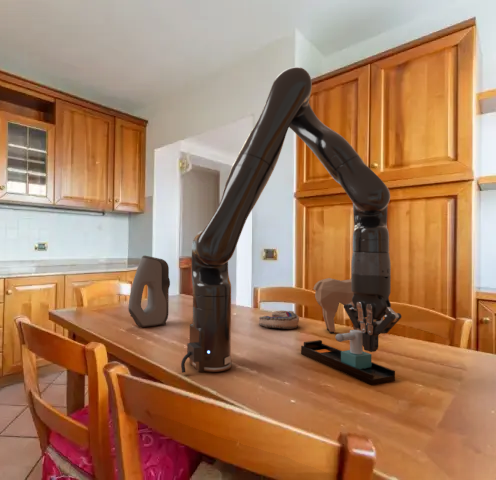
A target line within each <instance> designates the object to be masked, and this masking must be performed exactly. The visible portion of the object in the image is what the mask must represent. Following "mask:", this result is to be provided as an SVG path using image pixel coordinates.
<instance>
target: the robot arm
mask: <svg viewBox="0 0 496 480" xmlns="http://www.w3.org/2000/svg"><path fill="white" fill-rule="evenodd" d="M312 90H313V82H312V77H311V75H310V73H309V72H308V71H307V70H306V69H305V68H303V67H300V66H293V67H292V66H291V67H289V68H287V69H284V70H283V71H282V72H280V73H279V74H278V75H277V76H276V78H275V79H274V81H273V82H272V85H271V88H270V91H269V93H268V96H267V99H266V101H265V103H264V106H263V109H262V111H261V113H260V115H259V117H258V120H256V123H255V125H254V126H253V128H252V129H251V131H250V132H249V134H248V137H247V138H246V140H245V142H244V143H243V145H242V148H241V149H240V151H239V153H238V155H237V157H236V158H235V161H234V163H233V164H232V166H231V169H230V171H229V173H228V176H227V178H226V182H225V185H224V188H223V191H222V195H221V199H220V202H219V204H218V206H217V207H216V209H215V211H214V213H213V215H212V216H211V218H210V220H209V222H208V223H207V225H206V226H205V227H204V229H202V230H199V232H197V233H196V235H195V236H194V238H193V239H192V243H191V283H192V323H190V324H189V342H187V343H186V346H187V349H186V350H187V351H186V354H185V355H184V356H183V357H182V360H181V362H180V367H181V373H186V366H185V365H186V361H187V360H188V359H189V360H188V361H189V365H191V366H192V367H193V368H194V369H195V370H197V372H199V373H200V372H206V373H207V372H208V373H220V372H225V371H228V370H230V369H231V368H232V283H231V280H230V275H229V261H230V260H231V259H232V257H233V255H234V254H235V251H236V248H237V245H238V242H239V240H240V237H241V234H242V232H243V230H244V227H245V225H246V221H247V220H248V218H249V216H250V214H251V212H252V211H253V209H254V208H255V206H256V204H257V202H258V200H259V198H260V197H261V195H262V194H263V191H264V189H265V188H266V187H267V185H268V183H269V180H270V178H271V176H272V174H273V173H274V170H275V168H276V165H277V163H278V160H279V158H280V156H281V153H282V149H283V147H284V143H285V139H286V136H287V133H288V131H289V129H290V130H292V131H293V132H294V133H295V135H296V136H297V137H299V139H301V141H302V142H304V144H305V145H306V146H307V147H308V148H309V149H310V150H311V151H312V153H313V154H314V156H316V158H317V159H318V161H319V162H320V163H321V164H322V166H323V167H324V168H325V170H326V171H327V172H328V174H329V175H330V176H331V178H332V179H333V180H334V181H335V182H336V183H337V184H339V185H340V186H341V188H342V189H343V190H344V192H345V194H346V195H347V196H348V198H349V199H350V200H351V202H352V211H353V213H352V214H353V231H352V256H351V262H350V263H351V265H350V266H351V268H350V269H351V274H350V275H351V276H350V277H351V278H350V279H351V290H352V292H353V293H354V295H353V297H352V302H350V303H349V304H344V305H343V309H344V311H345V312H346V314H347V316H348V318H349V320H350V322H351V323H352V326H353V325H354V327H355V328H358V329H360V330H361V332H362V345H363V351H365V352H368V353H374V352H377V351H378V349H379V336H380V335H383V334H384V335H385V334H388V333H389V332H390V331H391V330H392V329H393V327H394V326H395V325H396V324H398V322H399V321H400V320H401V319H402V314H401V313H399V312H396V311H394V310H393V308H392V304H391V302H390V295H391V292H392V291H391V289H392V287H391V286H392V285H391V281H392V280H391V279H392V277H391V269H392V268H391V267H392V266H391V257H390V233H389V229H388V209H389V208H388V207H389V206H388V205H389V203H390V200H391V192H390V189H389V188H388V186H387V185H386V183H385V182H384V181H383V180H382V178H380V176H379V175H377V174H376V173H375V171H373V170H372V169H371V168H370V167H369V166H368V165H367V164H366V163H365V161H364V160H363V158H362V157H361V156H360V154H359V153H358V152H357V151H356V150H355V148H354V147H353V145H351V143H350V142H348V140H347V139H346V138H345V137H344V136H343V135H341V134H340V133H339V132H337V131H335V130H334V129H332V128H330V127H328V125H326V124H324V122H322V121H321V120H320V118H319V117H318V116H317V115H316V113H315V112H314V110H313V108H312V107H311V104H310V99H311V95H312ZM357 320H358V321H357ZM358 322H359V323H358Z"/></svg>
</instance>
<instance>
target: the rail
mask: <svg viewBox="0 0 496 480" xmlns="http://www.w3.org/2000/svg"><path fill="white" fill-rule="evenodd" d="M341 351H342V350H341V349H338V348H336V347H333V346H330V345H329V344H328V345H327V344H325V343H323V340H321V339H318V340H308V341H303V345H301V346H300V354H301V355H303V356H305V357H307V358H309V359H312V360H313V361H316V362H317V363H320V364H322V365H325V366H326V367H329V368H332V369H334V370H336V371H339V372H340V373H343V374H345V375H347V376H349V377H352V378H354V379H356V380H359V381H360V382H363V383H365V384H367V385H369V386H376V385H381V384H386V383H391V382H396V370H395V369H391V368H389V367H386V366H384V365H381V364H378V363H375V362H373V361H372V366H371V367H370V368H364V369H359V368H356V367H354V366H351V365H349V364H346V363H344V362H342V361H341Z"/></svg>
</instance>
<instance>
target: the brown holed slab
mask: <svg viewBox="0 0 496 480" xmlns="http://www.w3.org/2000/svg"><path fill="white" fill-rule="evenodd" d="M145 286H147V304H146V307H145V308H144V309H143V308H142V300H143V294H144V290H145V289H144V288H145ZM170 286H171V280H170V267H169V264H168V262H167V261H166V260H164V259H163V258H159V257H155V256H149V255H142V256H141V258H140V259H139V263H138V266H137V268H136V271H135V273H134V277H133V280H132V284H131V288H130V294H129V298H128V308H127V309H128V313H129V314H130V317H131V318H132V320H133V321H134V323H135V324H136V326H139V327H141V328H149V327H156V326H162V325H163V326H166V325H167V320H168V319H169V301H170V300H169V299H170V297H169V296H170V295H169V293H170V291H169V290H170Z"/></svg>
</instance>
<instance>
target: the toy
mask: <svg viewBox="0 0 496 480" xmlns="http://www.w3.org/2000/svg"><path fill="white" fill-rule="evenodd" d="M312 290H314V291H315V292H314V293H315V294H314V297H315V300H316V302H317V304H318V306H320V307H321V310H322V316H323V320H324V324H325V328H326V331H328V332H329V334H333V335H335V334H336V326H335V316H336V314H337V312H338V309H339V305H340V304H341V305H343V306H344V304H349V303H350V302H352V297H353V295H354V293H353V292H352V290H351V278H349V279H344V280H340V279H335V278H331V277H327V278H323V279H320V280H318V281H316V283H315V284H314V286H313V289H312ZM357 321H358V320H357ZM358 323H359V322H358ZM352 327H353V328H352V330H359V331H361V330H360V329H358V328H355V327H354V325H353V324H352Z"/></svg>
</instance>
